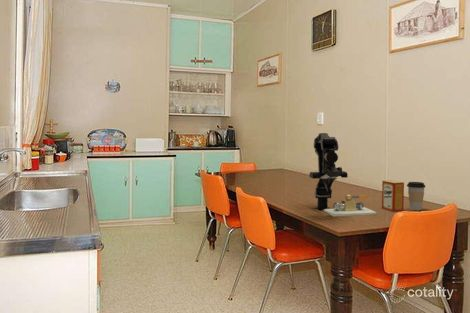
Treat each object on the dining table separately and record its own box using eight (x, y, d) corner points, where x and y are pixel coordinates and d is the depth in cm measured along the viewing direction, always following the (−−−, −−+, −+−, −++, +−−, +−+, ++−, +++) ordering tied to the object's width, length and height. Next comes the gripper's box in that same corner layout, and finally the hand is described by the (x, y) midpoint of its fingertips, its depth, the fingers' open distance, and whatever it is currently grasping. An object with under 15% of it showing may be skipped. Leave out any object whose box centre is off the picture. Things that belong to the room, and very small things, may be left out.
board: (323, 211, 223) (323, 209, 223) (364, 209, 227) (364, 207, 227) (333, 216, 210) (333, 214, 210) (376, 214, 214) (376, 212, 214)
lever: (346, 199, 217) (346, 195, 217) (344, 198, 221) (344, 194, 221) (367, 198, 218) (367, 195, 218) (365, 197, 221) (365, 194, 221)
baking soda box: (381, 208, 229) (382, 180, 228) (391, 207, 232) (392, 179, 230) (393, 211, 221) (394, 182, 219) (403, 210, 223) (404, 181, 221)
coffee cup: (428, 211, 221) (429, 183, 220) (412, 211, 220) (413, 184, 218) (418, 207, 230) (418, 181, 229) (402, 208, 229) (403, 181, 228)
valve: (336, 211, 216) (336, 200, 215) (332, 209, 221) (332, 198, 221) (364, 210, 218) (364, 199, 218) (359, 208, 224) (360, 197, 223)
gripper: (316, 163, 200) (316, 194, 201) (352, 162, 203) (352, 193, 204) (309, 161, 211) (309, 190, 212) (343, 160, 214) (342, 189, 215)
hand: (328, 191), depth 211 cm, fingers closed
